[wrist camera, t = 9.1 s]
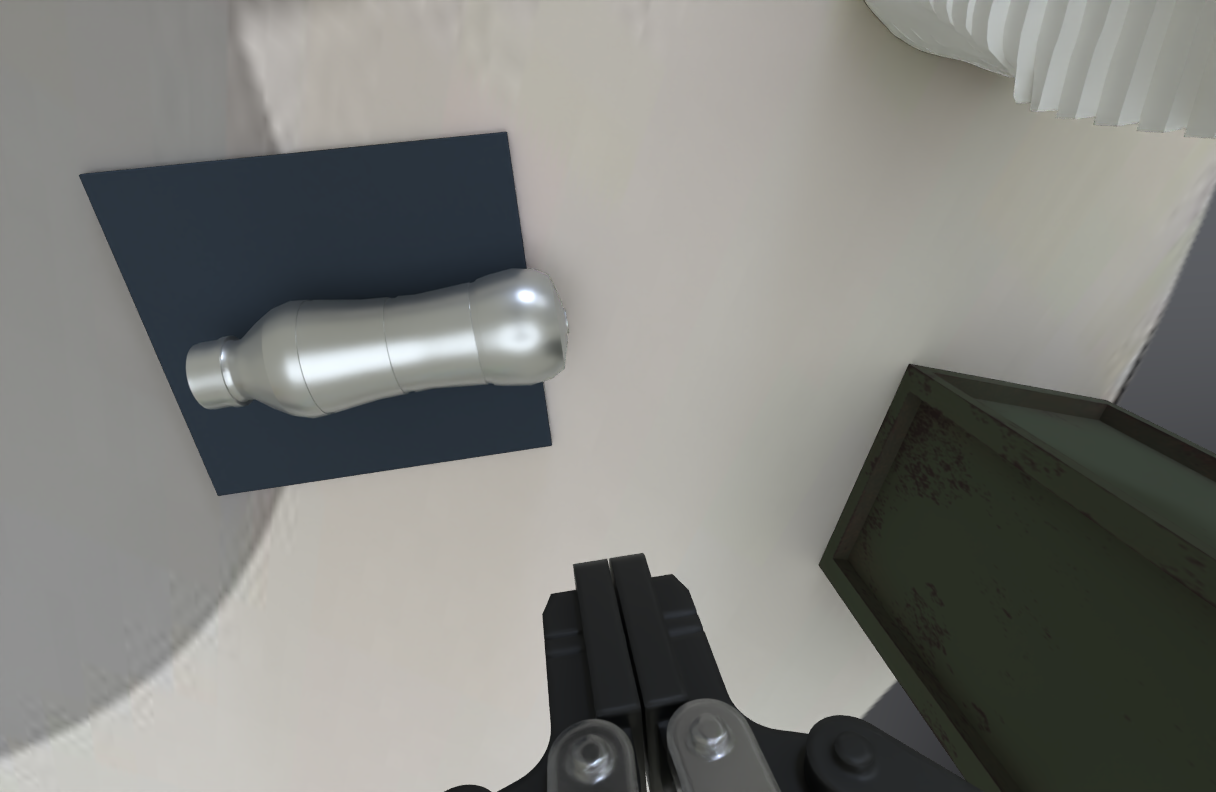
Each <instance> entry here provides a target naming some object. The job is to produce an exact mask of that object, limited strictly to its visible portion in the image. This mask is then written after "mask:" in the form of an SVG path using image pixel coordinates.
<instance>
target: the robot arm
mask: <svg viewBox="0 0 1216 792" xmlns="http://www.w3.org/2000/svg"><path fill="white" fill-rule="evenodd" d="M609 565H610V569H609ZM573 569H574V577H575V585H576V590H572V591H566V592H560V593H554V594H551V596H550V598H549V600H548V603H547V605H546V607H545V610H544V612H543V628H544V639H545V654H546V668H547V681H548V694H549V707H550V720H551V736H550V741H549V744H548V747H547V750H546V752H545V754H544V756H543V757H542V759H541V760H540V761H539V763H538V764H537V765H536V766H535V767H534V768H533V769H532V770H531V771H530V772H529V773H528V774H527V775H525V776H524V777H522V778H521V779H519V780H518V781H516V782H514V783H512V784H510V785H509V786H507V787H505V788H503V789H501V790H499V791H498V792H647V788H646V776H647V781H648V786H649V791H650V792H984V791H982V790H981V789H979V788H977V787H976V786H974V785H972V784H971V783H969V782H967V781H966V780H964V779H962V778H961V777H959V776H957V775H956V774H954V773H952V772H950V771H949V770H947V769H945V768H944V767H942V766H940V765H939V764H937V763H935V762H934V761H932V760H930V759H929V758H927V757H925V756H924V755H922V754H920V753H919V752H917V751H915V750H914V749H912V748H910V747H909V746H907V745H905V744H903V743H902V742H900V741H899V740H897V739H895V738H893V737H892V736H890V735H888V734H887V733H885V732H883V731H882V730H880V729H878V728H877V727H875V726H873V725H872V724H870V723H868V722H866V721H864V720H861V719H859V718H856V717H851V716H844V715H837V716H830V717H826V718H824V719H822V720H820V721H819V722H817V723H816V724H815V725H814V726H813V727H812V729H811V730H810V732H809V734H806V733H798V732H790V731H783V730H776V729H771V728H767V727H764V726H762V725H759V724H757V723H755V722H753V721H752V720H750V719H749V718H747V717H746V716H745V715H743V714H742V713H741V712H740V711H739V710H738V709H737V708H736V707H735V705H734V704H733V702H732V701H731V699H730V697H729V695H728V693H727V690H726V688H725V685H724V682H723V680H722V677H721V674H720V672H719V669H718V666H717V664H716V661H715V658H714V656H713V653H712V651H711V648H710V645H709V643H708V640H707V637H706V635H705V632H704V631H703V627H702V624H701V621H700V619H699V616H698V615H697V612H696V608H695V606H694V603H693V600H692V598H691V595H690V592H689V590H688V589H687V588H686V587H685V586H684V585H683V584H682V583H681V582H680V581H679V580H678V579H677V578H676V577H675V576H674V575H673V574H670V575H664V576H657V577H651V574H650V571H649V568H648V564H647V561H646V558H645V555H644V554H643V553H640V554H634V555H627V556H621V557H615V558H610V559H609V564H608V561H607V559H603V560H597V561H590V562H584V563H578V564H573ZM645 772H646V774H645ZM445 792H491V791H490V790H488V789H486V788H484V787H482V786H477V785H461V786H457V787H454V788H451V789H449V790H447V791H445Z"/></svg>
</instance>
